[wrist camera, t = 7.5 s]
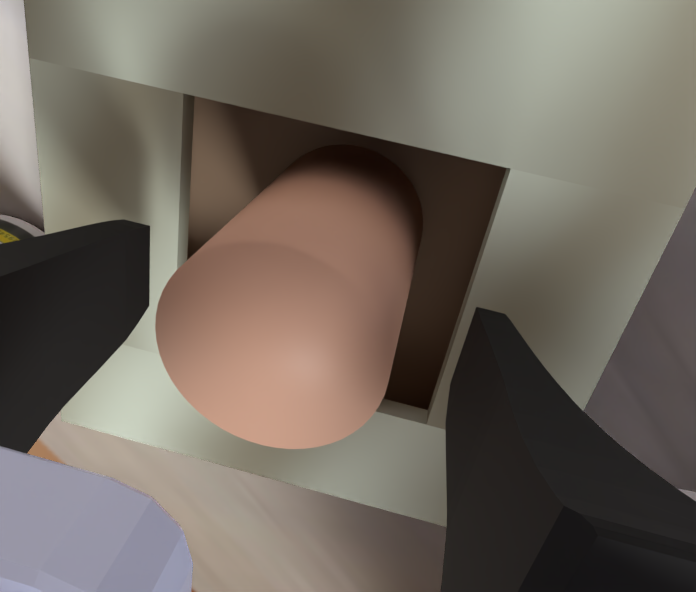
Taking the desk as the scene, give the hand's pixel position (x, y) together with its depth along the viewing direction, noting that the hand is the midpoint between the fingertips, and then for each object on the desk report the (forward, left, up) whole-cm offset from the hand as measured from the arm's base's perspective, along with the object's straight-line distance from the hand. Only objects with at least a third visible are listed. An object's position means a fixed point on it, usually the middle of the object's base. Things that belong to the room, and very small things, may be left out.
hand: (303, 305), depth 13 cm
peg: (0, 0, -5) cm, 5 cm away
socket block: (0, 0, -5) cm, 5 cm away
